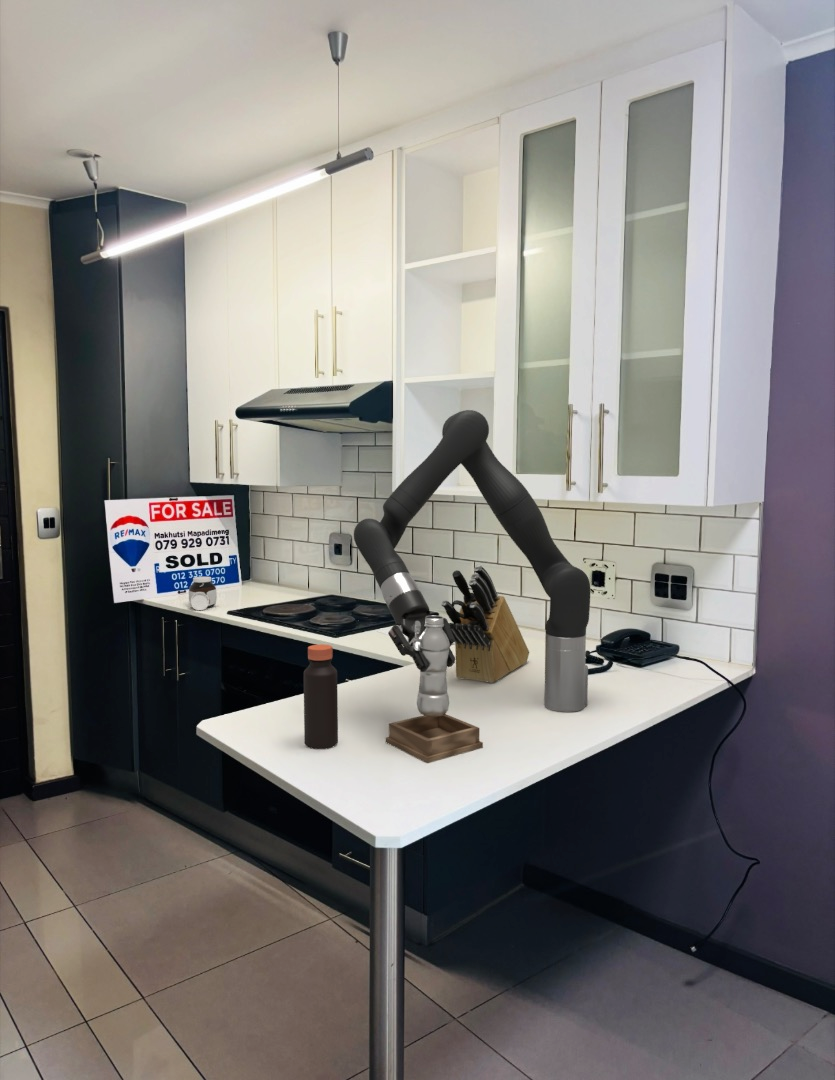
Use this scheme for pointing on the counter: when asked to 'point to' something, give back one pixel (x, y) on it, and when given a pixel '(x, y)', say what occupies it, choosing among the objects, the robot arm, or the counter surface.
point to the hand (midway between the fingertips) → (438, 666)
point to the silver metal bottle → (434, 669)
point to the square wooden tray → (433, 737)
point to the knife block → (484, 630)
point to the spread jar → (202, 593)
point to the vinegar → (320, 699)
